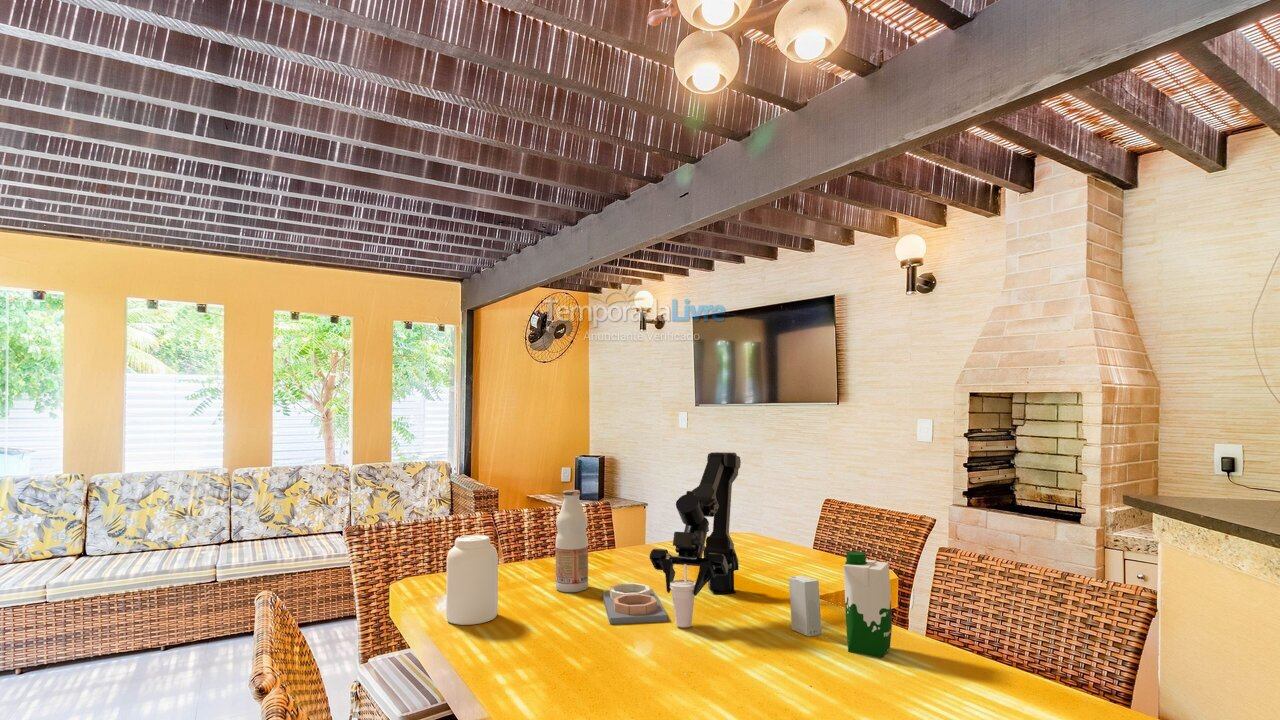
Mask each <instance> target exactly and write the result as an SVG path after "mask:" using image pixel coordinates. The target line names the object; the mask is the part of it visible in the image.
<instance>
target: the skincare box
mask: <svg viewBox="0 0 1280 720" xmlns="http://www.w3.org/2000/svg"><path fill="white" fill-rule="evenodd" d="M819 584H820V582H819V580H818V579H815V578H813V577H808V576H804V575H796V576H795V575H794V576H789V577H788V588H789V604H790V606H789V607H790V621H791V630H793V631H795V632H796V633H799V634H801V635H804V636H806V637H817V636H820V635H822V633H823V631H822V615H821V600H820V598H821V597H820V585H819Z"/></svg>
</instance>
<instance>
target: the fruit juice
mask: <svg viewBox="0 0 1280 720" xmlns="http://www.w3.org/2000/svg"><path fill="white" fill-rule="evenodd" d="M580 491H581V490H579V489H567V490H563V492H562V495H563V502H562V504H561V508H560V511H559V513H558V515H557V517H556V519H555V525H556V530H557V534H556V537H555V588H556V590H557V591H559V592H561V593H577V592H583V591H586V590H587V589H588V586H589V539H588V534H587V526H588V518H587V514H585V511H584V509H583V506H582V503H581V500H580V496H581V492H580Z"/></svg>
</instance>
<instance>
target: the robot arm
mask: <svg viewBox="0 0 1280 720" xmlns="http://www.w3.org/2000/svg"><path fill="white" fill-rule="evenodd" d="M706 459H707V460H706V461H707V462H706V464H705V468H704V470H703V474H702V477H701V480H700V482H699V485H698V486H697V487H695V488H693V489H692V490H687V491H686V494H683V495H681V496H680V497H679V498H678V499H677V500H676V502H675V506H676V507H675V508H676V510H677V512H678V514H679V517H680V519H681V522H682V523H683V525H684V526H685V527H684V531H674V532H673V538H672V539H673V540H672V546H674V547H675V553H677V555H672V554H670V553H669V551H668V549H664V548H653V549H652V550H651V551H650V553H649V560H650V562H651V563H652V566H653V568H654V569H655V570H657V571H662V572H663V573H664V575H665V585H666V586H665V587H666V592H667V593H668V594H670V593H671V592H672V590H671V588H670V583H671V582H672V581H675V577H676V576H675V575H676V570H675V569H674V565H681V566H684V564H686V566H690V567H699V568H698V574H697V577H696V580H695V582H696V584H695V587H694V596H695V597H696V596H697V595H698V594H699V593H700V592H701V591H702V589H703V588H704V587H705V586H706V585H707V588H708V589H709V590H710V591H711V593H712V594H715V595H718V594H721V595H722V594H736V593H737V590H736V589H735V573H734V572H735V571H739V570H740V568H739V567H740V566H739V558H738V556H737V553H736V550H735V544H734V541H733V539H732V538H731V535H730V523H731V521H730V520H731V507H732V503H731V502H732V491H733V490H732V489H733V483H734V482H735V481H736V479H737V477H738V476H739V469H740V468H741V464H742V463H741V456H739V455H737V452H724V451H723V452H719V451H718V452H717V451H713V452H708V454H707V458H706ZM712 517H713V524H712V532H711V533H710V535H708V536H707V534H708V532H709V531H710V528H709V526H710V522H709V519H708V518H712Z"/></svg>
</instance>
